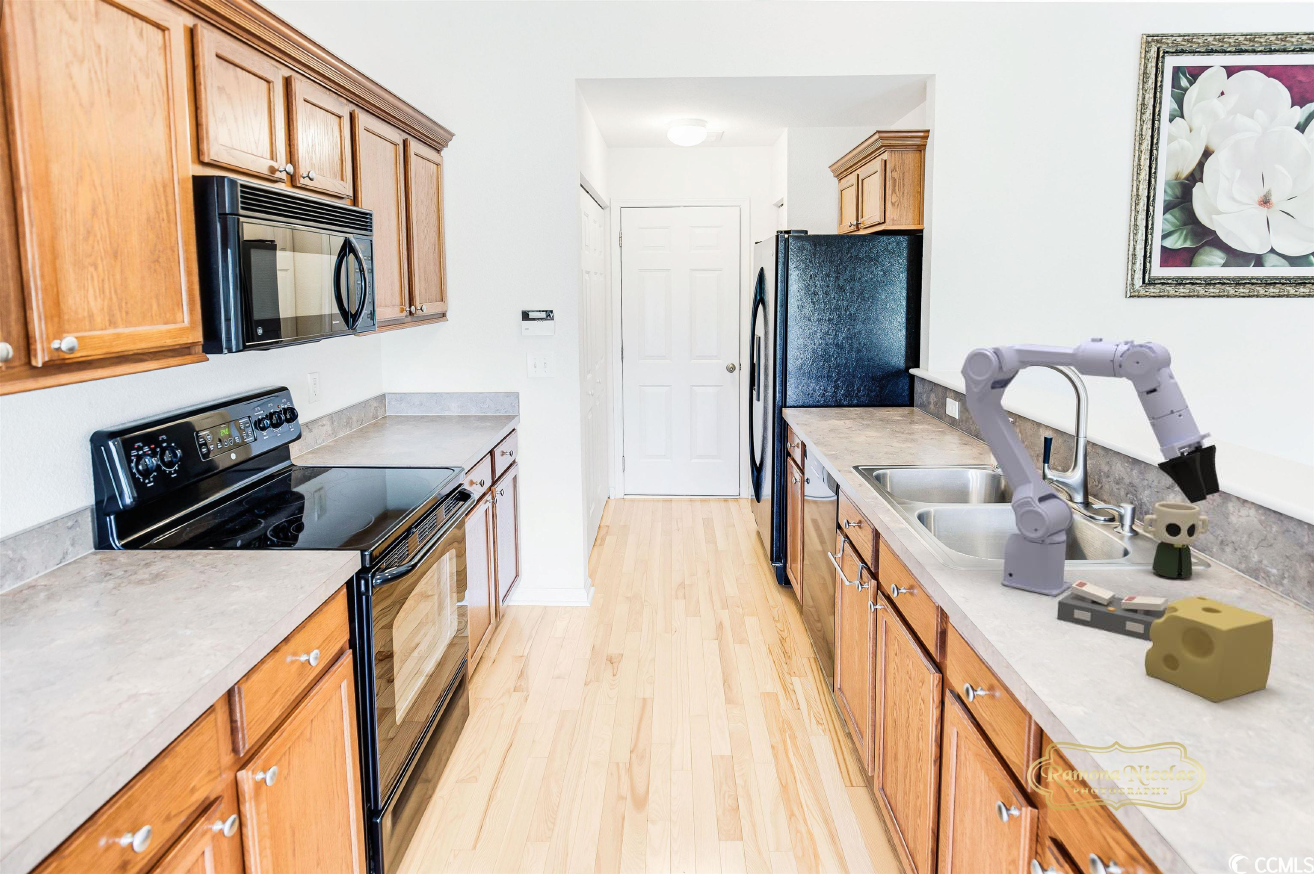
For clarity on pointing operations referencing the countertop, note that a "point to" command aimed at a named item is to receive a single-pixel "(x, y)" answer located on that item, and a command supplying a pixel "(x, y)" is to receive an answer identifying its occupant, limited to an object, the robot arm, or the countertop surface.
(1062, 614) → the double switch panel
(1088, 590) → the rocker
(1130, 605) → the rocker
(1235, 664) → the cheese
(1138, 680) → the countertop surface
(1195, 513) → the character mug
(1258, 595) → the countertop surface
